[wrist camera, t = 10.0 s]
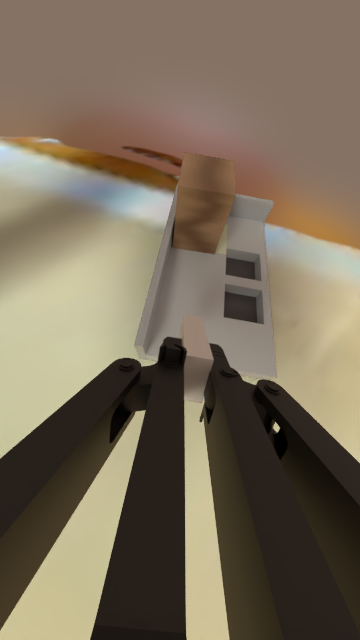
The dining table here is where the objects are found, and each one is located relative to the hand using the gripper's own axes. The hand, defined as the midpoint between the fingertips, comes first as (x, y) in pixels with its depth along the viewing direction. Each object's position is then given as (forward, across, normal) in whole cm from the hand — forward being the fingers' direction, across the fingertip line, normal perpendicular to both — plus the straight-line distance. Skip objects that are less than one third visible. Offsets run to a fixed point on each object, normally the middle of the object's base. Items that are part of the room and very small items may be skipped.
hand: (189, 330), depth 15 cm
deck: (+13, +3, +3) cm, 13 cm away
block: (+16, 0, +9) cm, 18 cm away
